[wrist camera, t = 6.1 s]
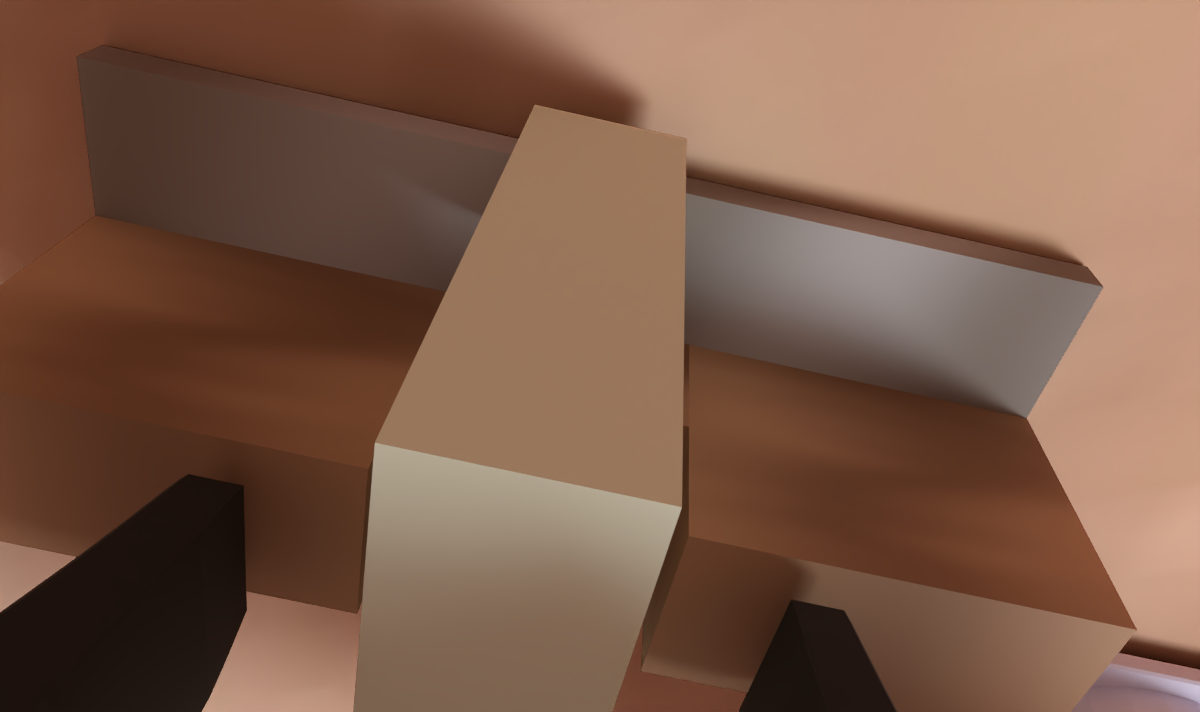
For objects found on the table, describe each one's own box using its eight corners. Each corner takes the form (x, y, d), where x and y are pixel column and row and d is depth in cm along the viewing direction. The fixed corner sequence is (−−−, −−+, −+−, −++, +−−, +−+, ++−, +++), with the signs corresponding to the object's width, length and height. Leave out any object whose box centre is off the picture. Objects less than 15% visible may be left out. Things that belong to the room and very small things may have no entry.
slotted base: (1086, 266, 13) (1258, 479, 9) (899, 596, 17) (963, 845, 13) (101, 44, 12) (-170, 169, 8) (142, 439, 16) (-30, 648, 12)
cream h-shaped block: (574, 564, 16) (506, 1021, 10) (463, 542, 16) (331, 988, 10) (685, 138, 12) (682, 507, 6) (534, 104, 12) (375, 442, 6)
